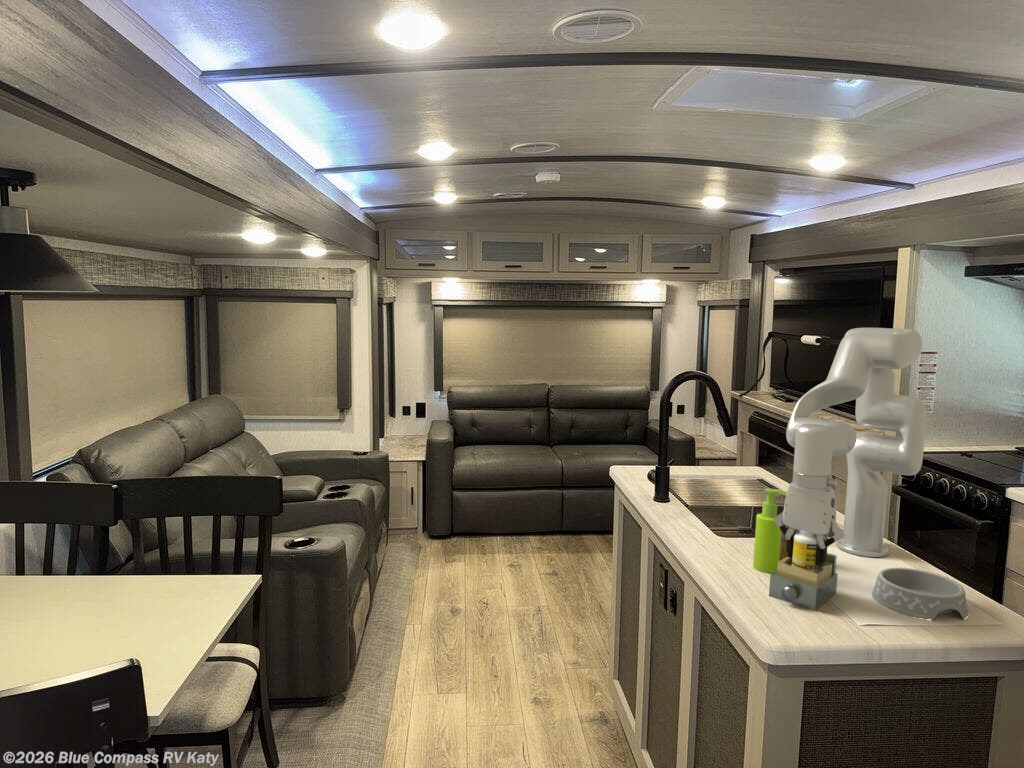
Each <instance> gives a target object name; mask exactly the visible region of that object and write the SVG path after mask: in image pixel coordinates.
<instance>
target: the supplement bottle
mask: <svg viewBox="0 0 1024 768" xmlns="http://www.w3.org/2000/svg"><path fill="white" fill-rule="evenodd" d="M798 531H799V532H798V533H796V534H795V535H794V543H793V555H792V565H794V566H797V567H801V568H804V569H807V570H811V571H814V572H815V571H817V570H818V566H817V565H816V564H815V563H816V550H817V548H818V547H819V543H818V539H817V535H816V534H812V533H810V532H807V531H806V530H798Z"/></svg>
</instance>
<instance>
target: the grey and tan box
mask: <svg viewBox="0 0 1024 768" xmlns="http://www.w3.org/2000/svg"><path fill="white" fill-rule="evenodd" d="M837 558H838V557H837V555H836V554H833V553H829V552H827V558H826V561H825V562H824V563H823V564H821V565H820V566H818V570H817V571H815V572H814V571H811V570H807V569H804V568H801V567H797V566H794V565H792V557H791V558H789V557H788V556H787V557H786V558H784V559H782V560H781V561H779V562H778V564H777V570H776V571H775V572H773V573H769V574H770V576H769V592H768V596H770V597H773V598H775V599H778V600H781V601H784V602H787V603H790V604H792V605H796V606H799V607H801V608H805V609H808V610H811V611H813V612H815V611H817V610H819V609H820V608H821V607H822V606H824V605H825V604H827V602H829V601H830V600H831V599H832V598H834V597H835V596H837V587H838V586H837V585H838V572H836V570H837V560H838V559H837Z"/></svg>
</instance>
